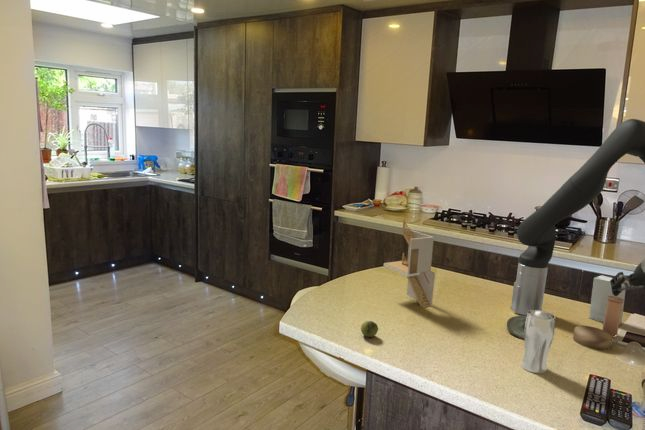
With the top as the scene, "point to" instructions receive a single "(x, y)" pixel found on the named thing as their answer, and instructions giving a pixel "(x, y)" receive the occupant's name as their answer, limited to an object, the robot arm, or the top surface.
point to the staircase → (417, 266)
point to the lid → (517, 326)
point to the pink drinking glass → (612, 315)
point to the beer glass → (537, 340)
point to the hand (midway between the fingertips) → (630, 294)
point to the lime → (369, 329)
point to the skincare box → (602, 298)
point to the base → (592, 337)
